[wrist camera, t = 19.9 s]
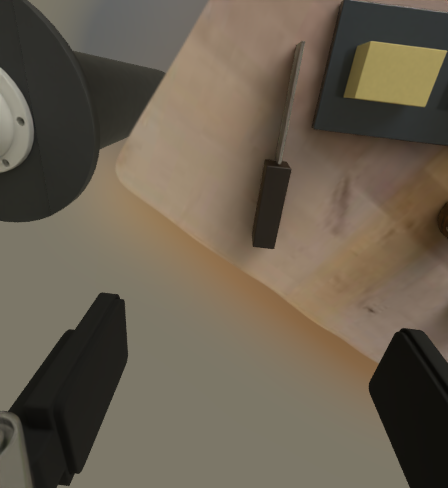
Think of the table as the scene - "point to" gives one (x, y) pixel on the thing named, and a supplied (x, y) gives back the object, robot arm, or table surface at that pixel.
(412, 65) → the butter block
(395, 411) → the robot arm
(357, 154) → the table surface
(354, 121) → the board
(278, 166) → the table knife
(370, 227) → the table surface
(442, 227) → the utensil holder
